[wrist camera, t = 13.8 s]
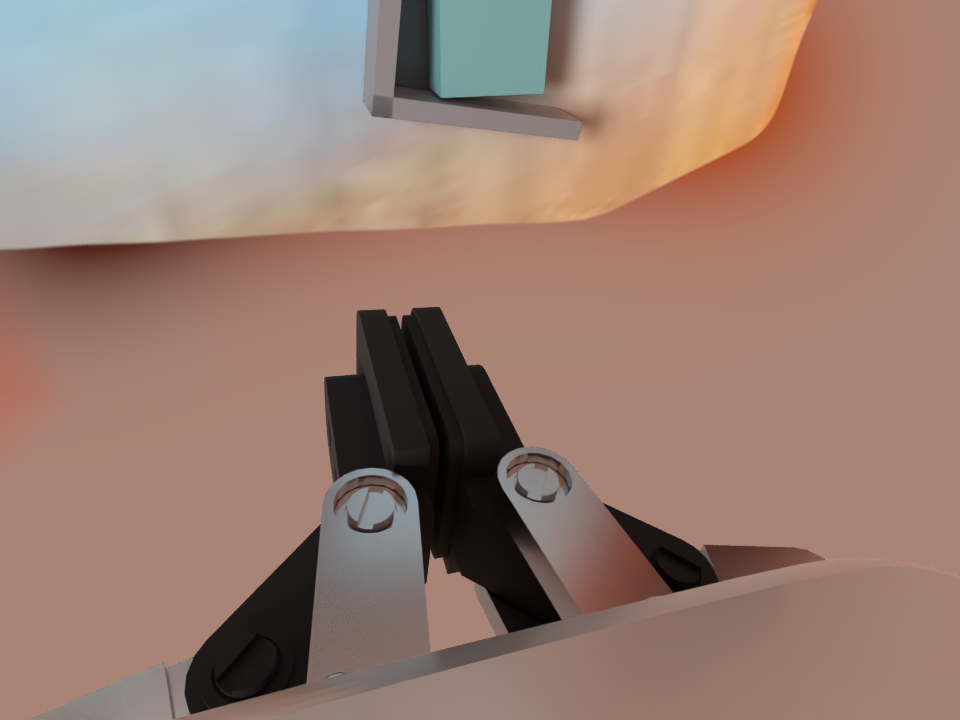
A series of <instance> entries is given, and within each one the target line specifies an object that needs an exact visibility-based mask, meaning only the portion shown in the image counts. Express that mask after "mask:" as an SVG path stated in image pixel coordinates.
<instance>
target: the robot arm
mask: <svg viewBox="0 0 960 720" xmlns="http://www.w3.org/2000/svg"><path fill="white" fill-rule="evenodd" d="M324 380H325V381H324V388H325V411H326V425H327V437H328V446H329V454H330V461H331V469H332V477H333V484H332V486H331V487H330V488H329V490H328V491H327V492H326V495H325V498H324V501H323V507H322V518H321V524H320V525H319V526H318V527H317V528H316V529H315V530H314V531H313V533H311V534H310V535H309V537H307V539H306V540H305V541H304V542H303V543H302V544H301V545H300V546H299V547H298V548H297V549H296V550H295V551H294V552H293V553H292V554H291V555H290V556H289V557H288V558H287V559H286V560H285V561H284V562H283V563H282V564H281V565H280V566H279V567H278V568H277V569H276V570H275V571H274V572H273V573H272V574H271V575H270V576H269V577H268V578H267V579H266V580H265V581H264V582H263V584H261V585H260V587H258V588H257V589H256V590H255V591H254V593H253V594H252V595H251V596H250V597H249V598H248V599H247V600H246V601H245V602H244V603H243V604H242V605H241V606H240V607H239V608H238V609H237V610H236V611H235V612H234V613H233V614H232V615H231V616H230V617H229V618H228V619H227V620H226V621H225V622H224V623H223V624H222V625H221V626H220V627H219V628H218V629H217V630H216V631H215V632H214V633H213V634H212V635H211V636H210V637H209V638H208V640H207V641H206V642H205V643H204V644H203V646H202V647H201V648H200V649H199V651H198V652H197V653H196V655H195V656H194V657H192V658H189V659H187V660H185V661H183V662H180V663H178V664H176V665H173V666H171V667H169V668H166V667H165V664H164V663H161V664H158V665H156V666H153V667H151V668H149V669H146V670H144V671H142V672H140V673H137V674H135V675H132V676H130V677H128V678H125V679H123V680H121V681H118V682H116V683H114V684H111V685H109V686H107V687H104V688H102V689H99V690H97V691H95V692H92V693H90V694H88V695H85V696H83V697H80V698H78V699H76V700H73V701H71V702H69V703H66V704H64V705H62V706H59V707H57V708H55V709H52V710H50V711H47V712H46V713H43V714H40V715H38V716H36V717H34V718H31V719H29V720H960V576H958V575H955V574H953V573H950V572H947V571H944V570H941V569H938V568H934V567H930V566H926V565H921V564H915V563H909V562H903V561H898V560H892V559H873V558H845V559H844V558H843V559H830V560H825V559H823V558H822V557H821V556H819V555H817V554H814V553H812V552H810V551H808V550H805V549H799V548H793V547H762V546H729V545H703V547H702V549H701V550H697V549H696V548H695V547H693V546H692V545H690V544H688V543H687V542H685V541H683V540H681V539H679V538H677V537H675V536H673V535H671V534H669V533H666V532H664V531H662V530H660V529H658V528H656V527H653V526H651V525H649V524H647V523H645V522H643V521H641V520H638V519H636V518H634V517H632V516H630V515H628V514H625V513H623V512H621V511H619V510H617V509H615V508H613V507H611V506H608V505H606V504H604V503H602V502H601V500H600V499H599V498H598V497H597V495H596V494H595V493H594V491H593V490H592V489H591V488H590V486H589V485H588V484H587V483H586V481H585V480H584V479H583V478H582V477H581V475H580V474H579V472H578V471H577V470H576V469H575V467H574V466H573V465H572V464H571V463H570V462H569V461H568V460H567V459H566V458H564V457H562V456H561V455H559V454H557V453H556V452H553V451H550V450H547V449H544V448H539V447H524V446H523V444H522V442H521V440H520V438H519V436H518V434H517V432H516V430H515V428H514V426H513V424H512V422H511V420H510V418H509V416H508V414H507V412H506V410H505V409H504V406H503V405H502V403H501V401H500V399H499V397H498V395H497V393H496V391H495V389H494V387H493V385H492V383H491V381H490V379H489V377H488V375H487V373H486V371H485V369H484V368H483V367H482V366H481V365H468V366H467V364H466V362H465V359H464V357H463V355H462V353H461V351H460V349H459V347H458V344H457V342H456V340H455V338H454V336H453V334H452V332H451V330H450V327H449V325H448V323H447V321H446V319H445V317H444V315H443V313H442V311H441V309H440V308H439V307H428V308H413V309H412V311H411V315H404V316H403V317H402V326H401V329H400V326H399V323H398V320H397V317H396V316H387V313H386V311H385V310H384V309H383V310H360V311H357V375H346V376H334V377H333V376H332V377H325V378H324ZM430 550H431V552H432V555H433V557H434V558H435V559H436V558H442V557H443V560H444V563H445V567H446V570H447V573H448V574H450V573H455V572H460V573H461V575H462V576H464V577H466V578H468V579H470V580H471V581H473V582H474V589H475V592H476V595H477V598H478V600H479V602H480V604H481V606H482V608H483V610H484V612H485V614H486V616H487V618H488V620H489V622H490V624H491V626H492V628H493V630H494V632H495V634H496V637H492V638H488V639H483V640H479V641H475V642H471V643H467V644H463V645H459V646H455V647H451V648H447V649H443V650H439V651H436V652H431V653H430V644H429V632H428V619H427V607H426V596H425V583H426V582H427V574H428V566H429V558H430Z"/></svg>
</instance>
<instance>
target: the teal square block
mask: <svg viewBox="0 0 960 720" xmlns="http://www.w3.org/2000/svg"><path fill="white" fill-rule="evenodd" d="M551 5H552V0H427V6H428V42H429V78H430V88H431V89H432V90H433V91H434V92H435V93H436V94H437V95H438V96H440V97H441V98H454V97H477V96H501V95H524V94H544V87H545V76H546V64H547V52H548V40H549V28H550V17H551Z"/></svg>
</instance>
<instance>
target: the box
mask: <svg viewBox="0 0 960 720" xmlns="http://www.w3.org/2000/svg"><path fill="white" fill-rule="evenodd" d="M401 1H402V0H369V3H368V22H367V40H366V58H365V77H364V95H363V102H364V103H365V105H366V107H367V108H368V110H369V112H370V113H371V115H372V116H375V117H383V118H392V119H400V120H409V121H417V122H426V123H434V124H443V125H451V126H460V127H468V128H477V129H485V130H494V131H502V132H511V133H519V134H528V135H536V136H545V137H553V138H562V139H570V140H578V137H579V134H580V130H581V126H582V122H581V121H580V120H578V119H576V118H574V117H573V116H571V115H569V114H568V113H566V112H564V111H563V110H561V109H559V108H553V107H546V106H538V105H531V104H524V103H517V102H509V101H502V100H495V99H488V98H480V97H454V98H441V97H440V96H438V95H437V94H436V93H435V92H434V91H430V90H423V89H415V88H408V87H401V86H395V74H396V62H397V49H398V37H399V25H400V13H401Z"/></svg>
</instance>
